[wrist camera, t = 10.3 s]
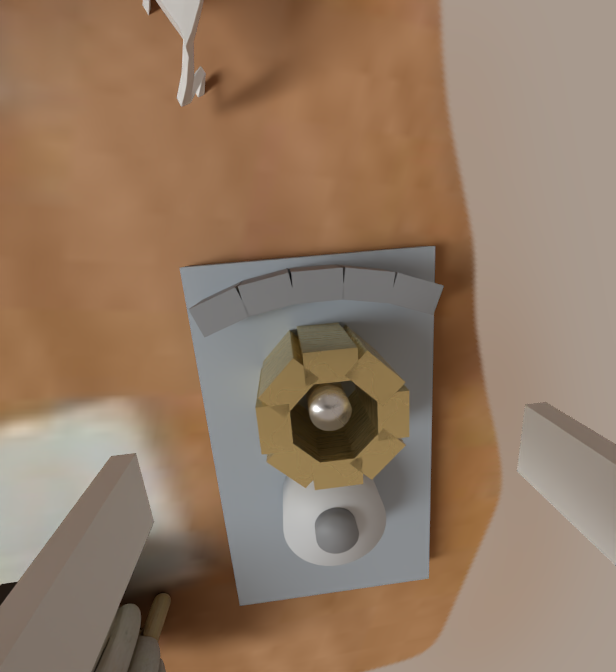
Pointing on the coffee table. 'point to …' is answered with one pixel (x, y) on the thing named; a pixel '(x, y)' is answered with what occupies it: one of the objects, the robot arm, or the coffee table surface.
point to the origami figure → (185, 43)
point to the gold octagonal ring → (366, 400)
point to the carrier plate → (241, 422)
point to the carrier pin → (328, 406)
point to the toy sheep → (134, 639)
